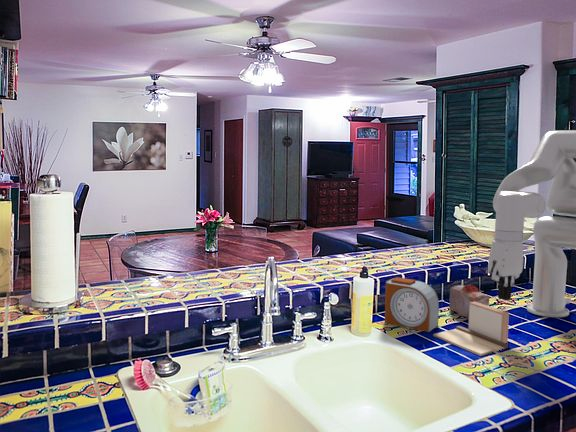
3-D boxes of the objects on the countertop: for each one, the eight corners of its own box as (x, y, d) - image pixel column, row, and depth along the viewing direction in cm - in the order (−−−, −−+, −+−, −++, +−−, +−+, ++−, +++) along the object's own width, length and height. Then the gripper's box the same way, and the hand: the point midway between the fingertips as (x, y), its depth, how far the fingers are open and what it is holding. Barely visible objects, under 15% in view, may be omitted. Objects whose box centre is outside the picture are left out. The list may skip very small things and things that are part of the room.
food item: (492, 320, 171) (494, 289, 170) (471, 323, 168) (473, 292, 167) (464, 307, 184) (465, 279, 182) (444, 310, 181) (445, 281, 180)
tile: (473, 330, 162) (474, 301, 160) (507, 343, 151) (509, 312, 150) (467, 332, 160) (468, 302, 159) (501, 345, 150) (503, 313, 149)
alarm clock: (382, 323, 169) (383, 280, 167) (393, 315, 175) (394, 274, 174) (428, 332, 160) (429, 287, 158) (438, 324, 167) (439, 281, 165)
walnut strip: (459, 329, 162) (459, 325, 162) (507, 348, 148) (507, 344, 148) (456, 330, 162) (456, 326, 161) (504, 349, 147) (504, 345, 147)
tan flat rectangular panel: (456, 330, 162) (456, 328, 162) (504, 349, 147) (504, 347, 147) (433, 336, 157) (433, 334, 157) (480, 356, 142) (480, 353, 142)
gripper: (514, 233, 162) (510, 293, 164) (479, 236, 155) (475, 298, 157) (536, 236, 156) (532, 299, 158) (501, 240, 148) (497, 305, 151)
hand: (504, 298), depth 158 cm, fingers closed
